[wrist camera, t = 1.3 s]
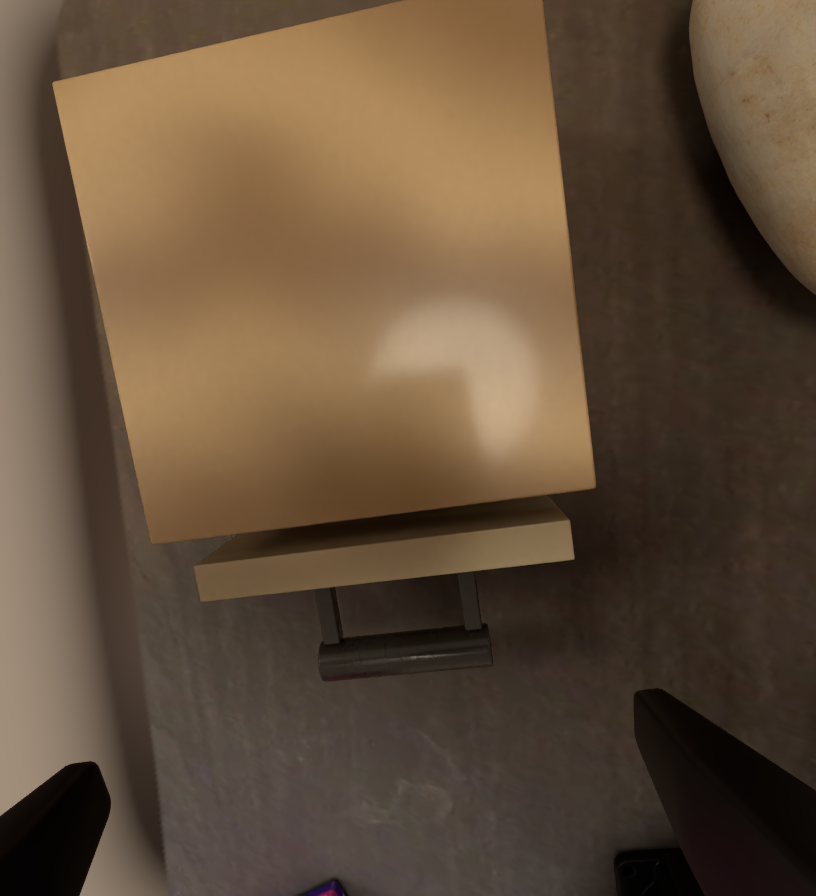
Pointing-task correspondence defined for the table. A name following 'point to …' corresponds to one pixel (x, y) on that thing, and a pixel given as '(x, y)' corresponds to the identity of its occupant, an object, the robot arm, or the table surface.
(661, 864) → the robot arm
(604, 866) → the table surface
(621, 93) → the table surface
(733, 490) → the table surface
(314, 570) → the drawer
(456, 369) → the cabinet
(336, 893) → the supplement box
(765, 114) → the stone
